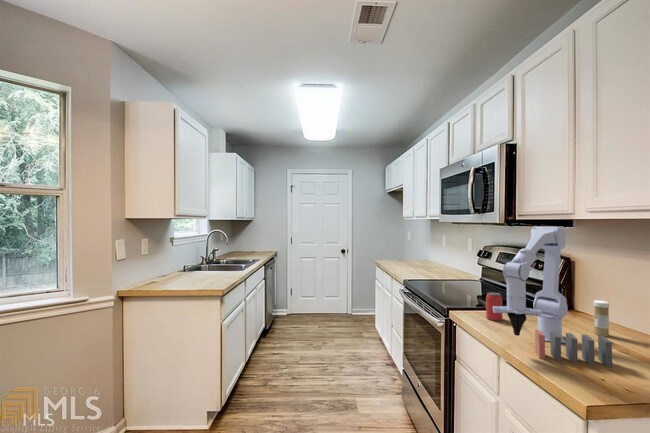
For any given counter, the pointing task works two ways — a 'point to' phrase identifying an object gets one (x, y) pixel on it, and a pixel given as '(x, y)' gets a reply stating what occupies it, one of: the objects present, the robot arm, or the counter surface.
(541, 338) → the red domino
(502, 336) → the counter surface
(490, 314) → the beer can
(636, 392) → the counter surface
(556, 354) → the domino
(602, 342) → the domino
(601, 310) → the sprinkles bottle
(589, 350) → the domino
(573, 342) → the domino
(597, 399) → the counter surface
